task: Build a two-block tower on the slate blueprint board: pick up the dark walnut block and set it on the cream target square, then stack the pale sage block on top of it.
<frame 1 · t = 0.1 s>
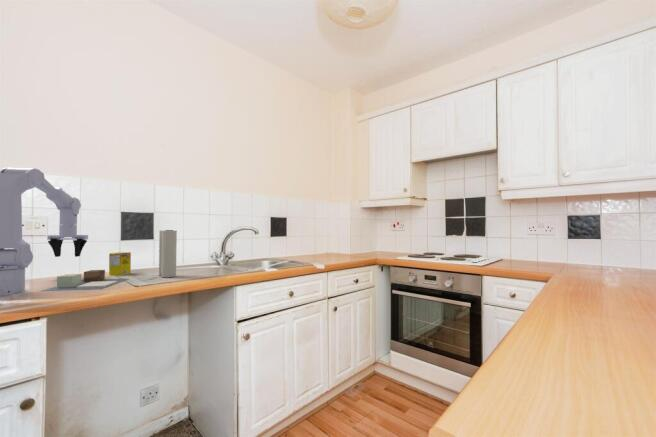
hand: (67, 256, 128), 10 cm above the countertop, tool pointing down, fingers open, 7 cm apart
blueprint board: (89, 286, 114), on the countertop
supplement box: (119, 276, 137), on the countertop
tall grey block: (168, 276, 137), on the countertop
walnut block: (94, 280, 121), point 1 cm above the countertop, touching blueprint board
sage block: (69, 285, 111), point 1 cm above the countertop, touching blueprint board
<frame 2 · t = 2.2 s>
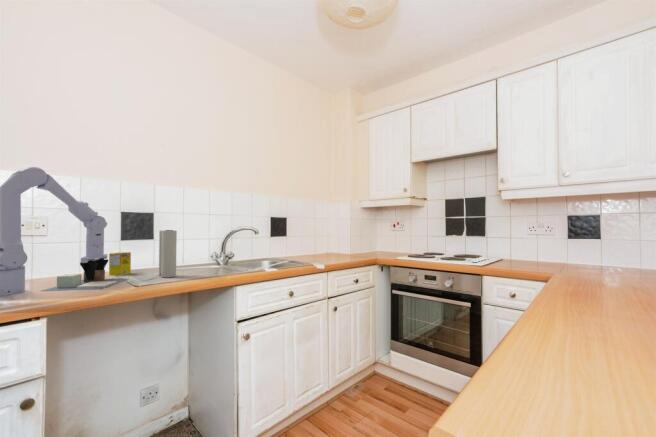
hand: (94, 278, 121), 2 cm above the countertop, tool pointing down, fingers closed on walnut block, 5 cm apart
walnut block: (94, 280, 121), point 1 cm above the countertop, touching blueprint board, gripper
everything else where it was.
when the fingers open (3 cm above the countertop, at t = 6.4 s): walnut block stays where it is, resting on blueprint board.
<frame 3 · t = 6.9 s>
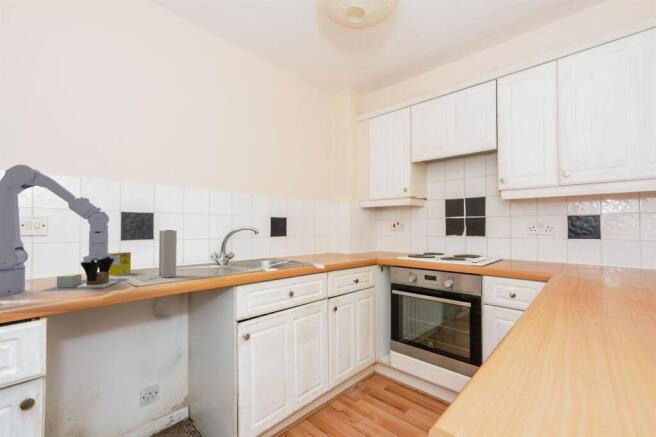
hand: (97, 279, 113), 3 cm above the countertop, tool pointing down, fingers open, 7 cm apart
walnut block: (98, 283, 113), point 2 cm above the countertop, touching blueprint board
everything else where it was.
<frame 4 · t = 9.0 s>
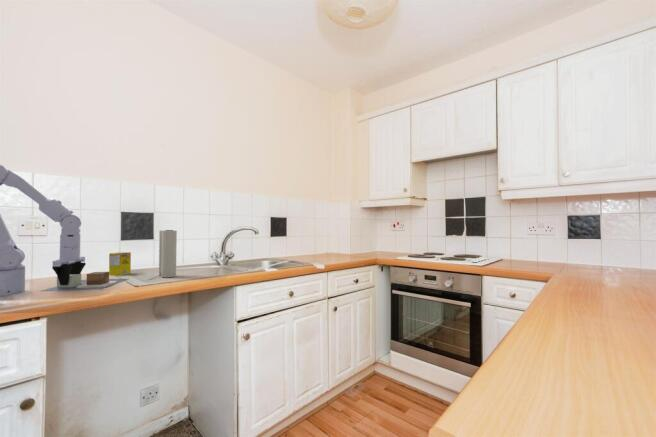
hand: (69, 283, 111), 2 cm above the countertop, tool pointing down, fingers closed on sage block, 5 cm apart
sage block: (69, 285, 111), point 1 cm above the countertop, touching blueprint board, gripper
everything else where it was.
when the fingers open (7 cm above the countertop, at t = 12.8 s): sage block stays where it is, resting on walnut block.
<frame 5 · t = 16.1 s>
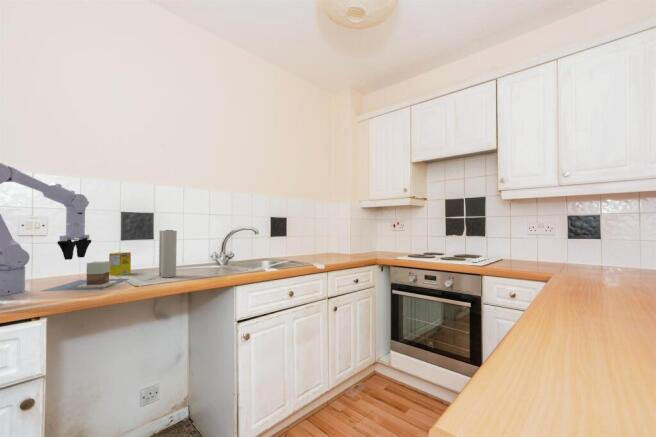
hand: (74, 258, 118), 10 cm above the countertop, tool pointing down, fingers open, 7 cm apart
walnut block: (98, 283, 113), point 2 cm above the countertop, touching blueprint board, sage block
sage block: (98, 272, 113), point 6 cm above the countertop, touching walnut block
everything else where it was.
at the end: walnut block 0.0 cm from the target spot, point 1.6 cm above the countertop; sage block 0.1 cm off-centre on the walnut block, point 4.0 cm above the walnut block's base; sage block tilted 0° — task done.
